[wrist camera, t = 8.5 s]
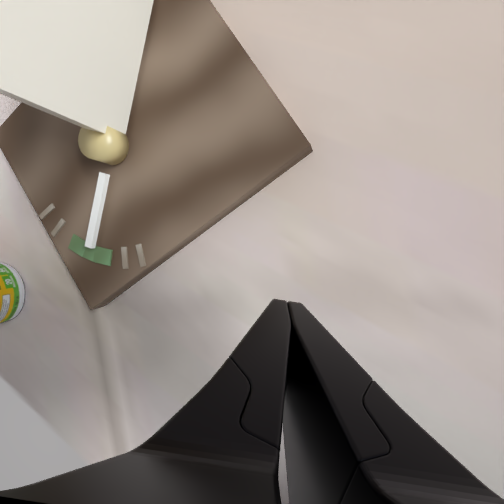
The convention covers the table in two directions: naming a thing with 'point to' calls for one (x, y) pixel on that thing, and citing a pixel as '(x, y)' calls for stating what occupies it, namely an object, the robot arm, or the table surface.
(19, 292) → the supplement bottle
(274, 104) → the tuner board
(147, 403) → the table surface
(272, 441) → the robot arm
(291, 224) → the table surface
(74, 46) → the upright white panel
